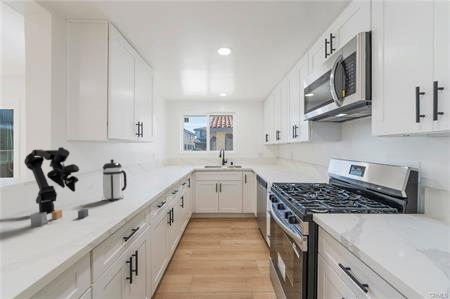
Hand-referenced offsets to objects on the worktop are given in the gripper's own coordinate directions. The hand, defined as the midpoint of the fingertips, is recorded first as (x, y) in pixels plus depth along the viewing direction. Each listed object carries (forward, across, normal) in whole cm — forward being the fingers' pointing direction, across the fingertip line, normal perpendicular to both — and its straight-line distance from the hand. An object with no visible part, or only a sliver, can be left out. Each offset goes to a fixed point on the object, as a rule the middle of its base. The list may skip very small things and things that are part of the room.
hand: (69, 189), depth 130 cm
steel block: (+10, -3, +18) cm, 21 cm away
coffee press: (-3, +50, -4) cm, 50 cm away
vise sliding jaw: (+7, +7, +14) cm, 18 cm away
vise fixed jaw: (+15, +8, +3) cm, 17 cm away
